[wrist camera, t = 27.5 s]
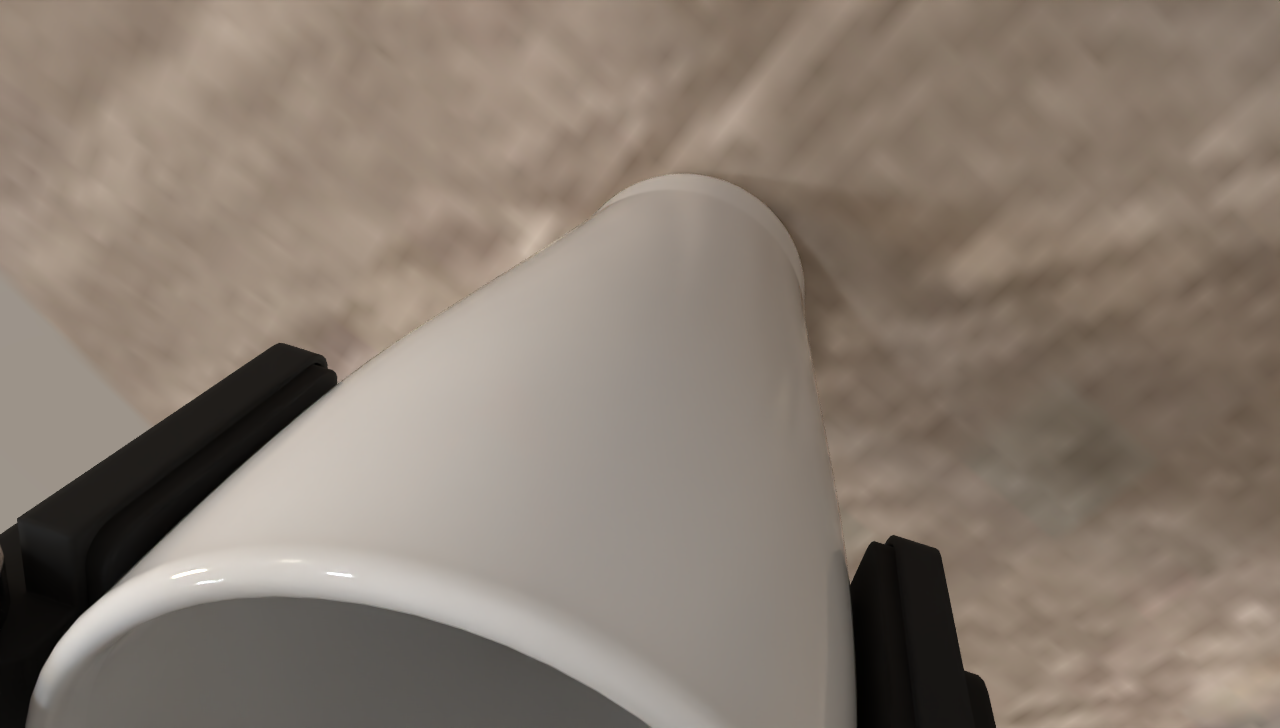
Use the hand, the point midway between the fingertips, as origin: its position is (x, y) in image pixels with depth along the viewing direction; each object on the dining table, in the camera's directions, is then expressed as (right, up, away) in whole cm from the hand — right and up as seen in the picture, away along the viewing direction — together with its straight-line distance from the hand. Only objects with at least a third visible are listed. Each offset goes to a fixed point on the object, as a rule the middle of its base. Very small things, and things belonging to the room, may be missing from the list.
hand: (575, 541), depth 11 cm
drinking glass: (+2, +4, +9) cm, 10 cm away
